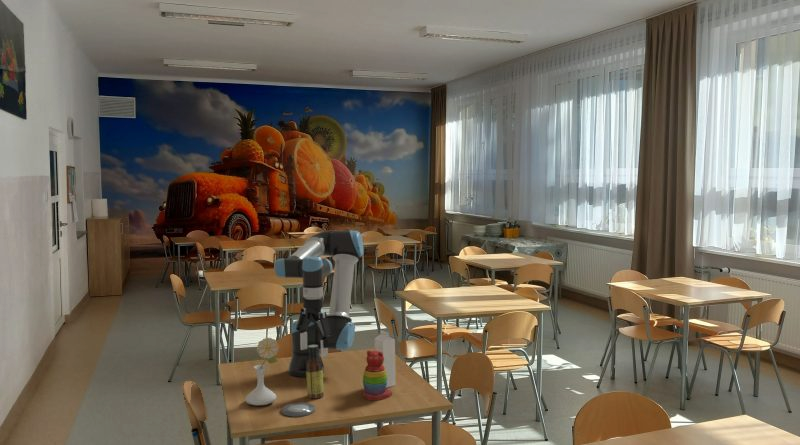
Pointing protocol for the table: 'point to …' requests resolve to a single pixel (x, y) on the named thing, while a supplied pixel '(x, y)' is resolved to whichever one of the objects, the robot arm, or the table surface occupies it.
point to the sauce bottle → (314, 373)
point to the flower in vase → (261, 393)
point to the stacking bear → (375, 377)
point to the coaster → (298, 409)
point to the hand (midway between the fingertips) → (314, 352)
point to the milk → (387, 355)
